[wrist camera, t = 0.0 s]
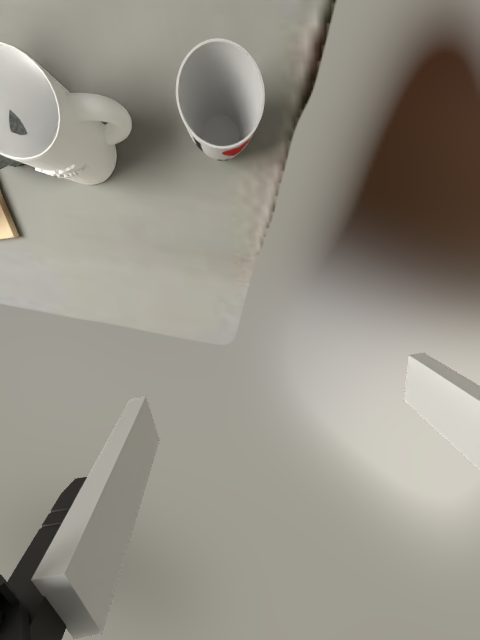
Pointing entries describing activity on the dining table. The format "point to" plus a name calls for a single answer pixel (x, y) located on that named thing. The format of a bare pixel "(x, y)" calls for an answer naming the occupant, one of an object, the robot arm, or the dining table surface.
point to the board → (6, 222)
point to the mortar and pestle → (16, 128)
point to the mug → (57, 122)
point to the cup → (220, 97)
